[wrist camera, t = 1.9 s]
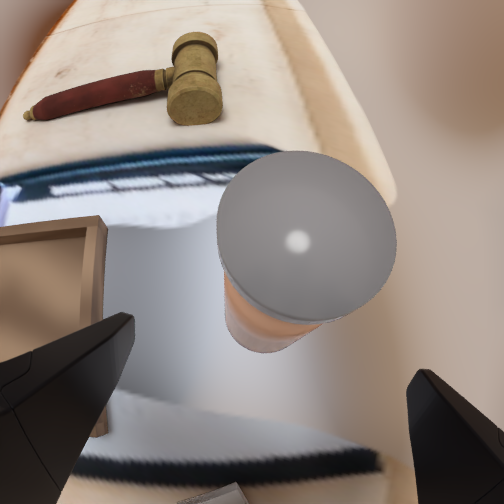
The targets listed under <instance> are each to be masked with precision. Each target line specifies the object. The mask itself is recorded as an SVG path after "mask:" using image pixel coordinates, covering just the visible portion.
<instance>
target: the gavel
mask: <svg viewBox="0 0 504 504" xmlns="http://www.w3.org/2000/svg"><path fill="white" fill-rule="evenodd" d="M217 60H218V49H217V44H216V42H215V40H214V39H213V38H212V37H211V36H210V35H208V34H206V33H202V32H191V33H187V34H184V35H183V36H181V37H180V38H179V39H177V41H176V42H175V44H174V46H173V51H172V63H173V66H174V67H169V68H166V70H164V69H159V70H143V71H138V72H133V73H129V74H124V75H120V76H115V77H111V78H107V79H103V80H100V81H96V82H92V83H88V84H85V85H81V86H78V87H75V88H71V89H68V90H65V91H62V92H59V93H56V94H53V95H50V96H47V97H45V98H43V99H42V100H41V101H39V102H38V103H37V104H36V105H35V106H32V107H31V109H30V111H26V112H25V113H24V114H23V117H24V119H25V120H29V119H30V118H32V119H33V120H36V119H41V120H50V119H53V118H56V117H60V116H63V115H67V114H70V113H74V112H77V111H81V110H84V109H88V108H92V107H96V106H100V105H104V104H108V103H113V102H117V101H121V100H126V99H131V98H136V97H141V96H146V95H149V94H152V93H154V92H157V91H162V90H166V89H167V88H168V89H169V91H168V99H167V112H168V115H169V116H170V118H171V119H172V120H174V121H175V122H177V123H178V124H181V125H187V126H189V125H201V124H207V123H210V122H212V121H214V120H215V119H216V118H217V117H218V116H219V115H220V113H221V111H222V108H223V102H222V92H221V87H220V86H219V84H218V83H217V76H216V63H217Z"/></svg>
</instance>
